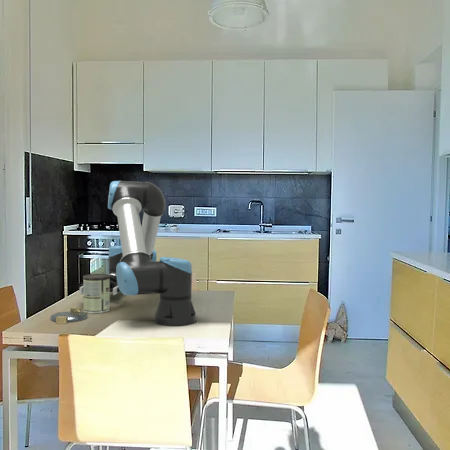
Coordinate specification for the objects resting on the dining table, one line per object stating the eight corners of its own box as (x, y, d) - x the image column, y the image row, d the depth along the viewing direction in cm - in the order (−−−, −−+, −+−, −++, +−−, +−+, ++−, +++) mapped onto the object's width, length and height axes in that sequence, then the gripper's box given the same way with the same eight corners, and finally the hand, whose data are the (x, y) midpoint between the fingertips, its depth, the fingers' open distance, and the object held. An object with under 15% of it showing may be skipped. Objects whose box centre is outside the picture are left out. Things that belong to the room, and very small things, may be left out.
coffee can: (84, 308, 191) (84, 273, 190) (110, 307, 192) (110, 273, 192) (81, 313, 180) (81, 277, 180) (108, 313, 182) (108, 277, 182)
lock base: (60, 312, 182) (59, 307, 182) (93, 313, 181) (93, 307, 181) (43, 323, 166) (43, 317, 166) (79, 323, 165) (79, 317, 165)
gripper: (138, 291, 209) (127, 301, 188) (83, 290, 210) (66, 300, 189) (138, 274, 209) (127, 282, 188) (83, 273, 209) (66, 281, 188)
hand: (97, 291), depth 188 cm, fingers open, 13 cm apart
